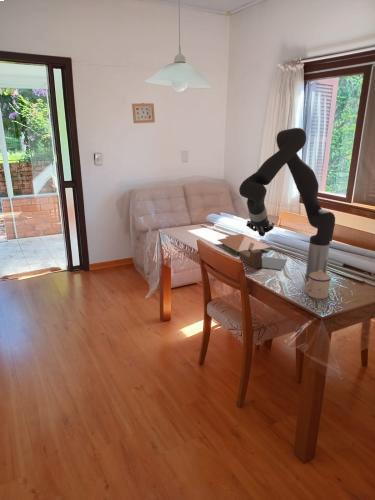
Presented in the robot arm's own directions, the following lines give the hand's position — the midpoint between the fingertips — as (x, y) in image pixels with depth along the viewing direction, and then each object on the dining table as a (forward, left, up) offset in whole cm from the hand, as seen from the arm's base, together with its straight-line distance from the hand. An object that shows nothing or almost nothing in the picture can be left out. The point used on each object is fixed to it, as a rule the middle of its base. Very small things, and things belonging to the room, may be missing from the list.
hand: (262, 234), depth 174 cm
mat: (-2, -23, -22) cm, 32 cm away
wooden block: (+3, -12, -17) cm, 21 cm away
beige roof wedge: (+21, -45, -23) cm, 55 cm away
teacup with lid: (-27, +10, -22) cm, 36 cm away
